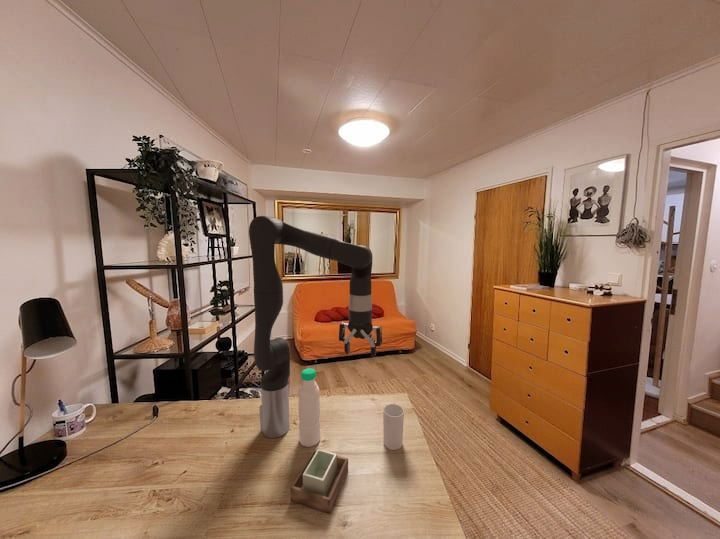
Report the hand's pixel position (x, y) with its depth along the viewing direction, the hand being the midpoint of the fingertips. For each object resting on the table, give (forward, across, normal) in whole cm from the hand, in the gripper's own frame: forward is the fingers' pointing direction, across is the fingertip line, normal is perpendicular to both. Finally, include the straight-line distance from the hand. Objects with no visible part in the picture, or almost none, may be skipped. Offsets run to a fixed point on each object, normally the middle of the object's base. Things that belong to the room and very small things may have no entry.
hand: (360, 355), depth 89 cm
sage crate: (+30, -5, -20) cm, 36 cm away
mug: (+30, +11, +3) cm, 32 cm away
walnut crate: (+30, -5, -20) cm, 36 cm away
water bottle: (+30, -16, -6) cm, 35 cm away
